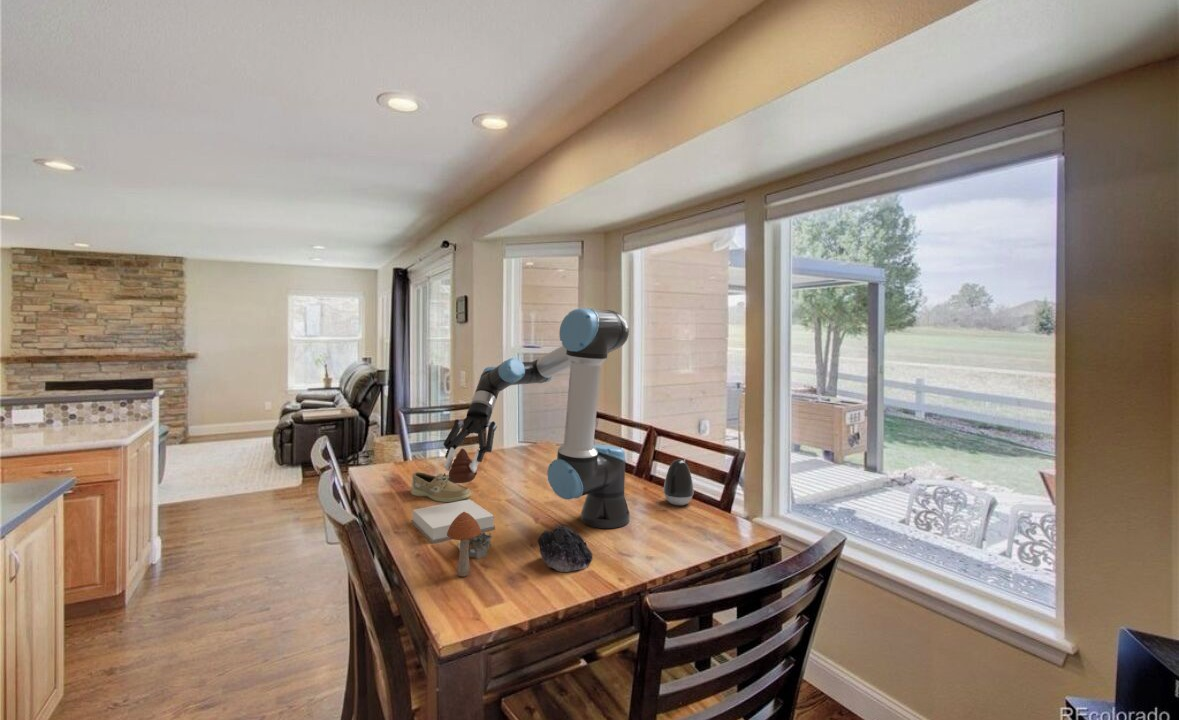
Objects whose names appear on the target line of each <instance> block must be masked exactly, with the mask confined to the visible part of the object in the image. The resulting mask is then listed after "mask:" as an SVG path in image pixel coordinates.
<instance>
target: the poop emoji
mask: <svg viewBox="0 0 1179 720" xmlns="http://www.w3.org/2000/svg"><path fill="white" fill-rule="evenodd" d="M472 462H473V459H471V458H470V456H469V455H468V452H467V451H466V450H465V448H460V450H459V452H458V453H457V454H456V455H455V458H454V459H453V462H452V464H451V467H450V470H449V471H448V475H449V480H450V481H451V482H453V483H456V484H467V483H471V482H472V481H473V480H474V479H475V478H476V476H477V473H478V472H477V470H476V472H475V473H473V472H472V470H471V468H470V467H471V465H472ZM478 466H479V465H478ZM478 466H477V468H478Z"/></svg>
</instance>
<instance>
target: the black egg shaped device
mask: <svg viewBox="0 0 1179 720" xmlns="http://www.w3.org/2000/svg"><path fill="white" fill-rule="evenodd" d="M686 462H687V459H686V458H683V459H679V458H677V459H674V460H672V462H671V463H670V465H669V467H668V470H667V472H666V476H665V479H664V483H663V484H664V485H663V494H664V497H665V499H666V501H667V502H668V503H669V504H671V505H674V506H685V505H687V504H689V503H690V502H691V500H692V498H693V496H694V484H693V478H692V473H691V471H690V468H689V466H688V464H687V463H686Z"/></svg>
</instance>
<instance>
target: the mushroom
mask: <svg viewBox="0 0 1179 720" xmlns="http://www.w3.org/2000/svg"><path fill="white" fill-rule="evenodd" d="M480 533H482V532H481V529H480V527H479V525H478V523H477V521H476V520H475V519H474V518H473V517H472V516H471V515H470V514H468V513H466V512H462V513H461V514H459V515H458V516H457V517H456V518H455V519H454V521H453V522H452V523H451V525H450V527H449V529H448V532H447V536H448V537H449V538H450V540H455V541H459V543H460V550H459V557H458V562H457V567H456V572H457V576H458V577H463V578H464V577H467V576H468V575H469V572H470V569H471V566H470V564H471V563H470V557H469V553H468V550H469V548H470V544H469V539H472V538H475V537H477V536H479V535H480Z"/></svg>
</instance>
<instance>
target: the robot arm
mask: <svg viewBox="0 0 1179 720" xmlns="http://www.w3.org/2000/svg"><path fill="white" fill-rule="evenodd" d="M558 333H559V334H558V335H559V336H558V337H559V340H560V341H561V346H559V347H558V348H556V349H554V350H552V351H550V352H548V353H545V354H544V355H543V356H541V357H539V358H537V359H535V360H532V361H521V360H520V359H518V358H516V357H512V358H508V359H507V360H504V361H502V362H501V363H500V364H499V365H497V366H487V367H486V368H484V370H483V371H482V373H481V374H480V377H479V380H478V383H477V386H476V389H475V392H474V394H473V396H472V398H471V399H472V400H471V402H470V405H469V406H468V407H469V408H468V410H467V412H466V415H465V416H466V417H465V418H464V419H463V420H459V419H456V418H455V420H454V423H453V427H452V428H451V430H450V432H449V433H448V435H447V437H446V439H445V440H444V442H443V446H444V448H445V449H446V452H445V455H444V456H445V457H444V458H445V462H444V464H443V468H444V469H445V470H446V472H449V471H450V469H451V465H452V463H453V461H454V459H455V457H456V455H457V454H456V449H457V448H458V447H459V445H460V444H461V443H462V442H463V440H465V438H466V437H468V436H470V435H471V434H477V438H478V448H479V449H478V448H476V449H475V454H474V456H473V458H472V460H473V462H472V465H471V467H470V468H471V470H472V472H473V473H475V472H476V471H477V469H478V467H477V466H479V463H482V462H483V459H484V456H485V454H486V453H491V452H492V451H493V443H494V435H495V431H496V430H497V427H498V426H497V425H496V422H495V421H491V422H490V420H491V418H492V414H493V410H494V407H495V406H496V405H495V404H496V402H497V399H498V396H499V393H500V392H501V391H503V390H505V389H506V388H509V387H510V386H515V385H527V384H543V383H547V382H550V381H551V379H552V378H553V376H555V375H557V374H561V373H562V372H564V371H566V370H568V369H570V370H569V378H568V379H569V381H568V389H567V390H568V392H567V404H566V413H565V414H566V416H565V423H564V424H565V425H564V436H563V444H561V445H560V446H558V448H557V455H556V456H557V457H556V459H554V460H552V461H551V463H550V464H549V465H548V467H547V474H546V475H547V480H548V483H549V484H548V485H549V486H550V488H551V489H552V491H553V492H554V493H555V494H556V495H557V496H558V497H559V498H561V499H563V500H568V501H569V500H572V499H573V500H574V499H579V498H580V497H583V496H585V500H584V502H583V505H582V506H583V507H582V508H581V511H580V521H581V522H582V523H583V524H585V525H586V526H589V527H593V528H598V529H616V528H620V527H624V526H626V525H628V524H630V519H631V518H630V516H631V515H630V511H629V507H628V503H627V500H626V495H625V488H626V487H625V482H626V478H625V477H626V473H625V472H626V453H625V450H624V449H623V448H622V447H618V446H613V445H607V444H594V443H595V431H596V424H597V423H596V421H597V411H598V401H599V390H600V381H601V371H602V368H601V367H602V364H603V363H605V361H607V360H608V354H609V353H612V352H613V351H616V350H618V349H620V348H622V346H624V345H625V344H626V342H627V340H628V338H629V335H630V327H629V323H628V321H627V319H626V318H625V317H624V316H623V315H622V314H621V313H619V312H618V311H614V310H612V309H611V310H605V309H594V308H577V309H573V310H571V311H569V312H568V313H567V314H566V315H565V316H564V317H563V319H562V321H561V323H560V327H559V332H558ZM487 428H488V430H487V436H486V443H485V437H484V436H485V435H484V430H485V429H487Z"/></svg>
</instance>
